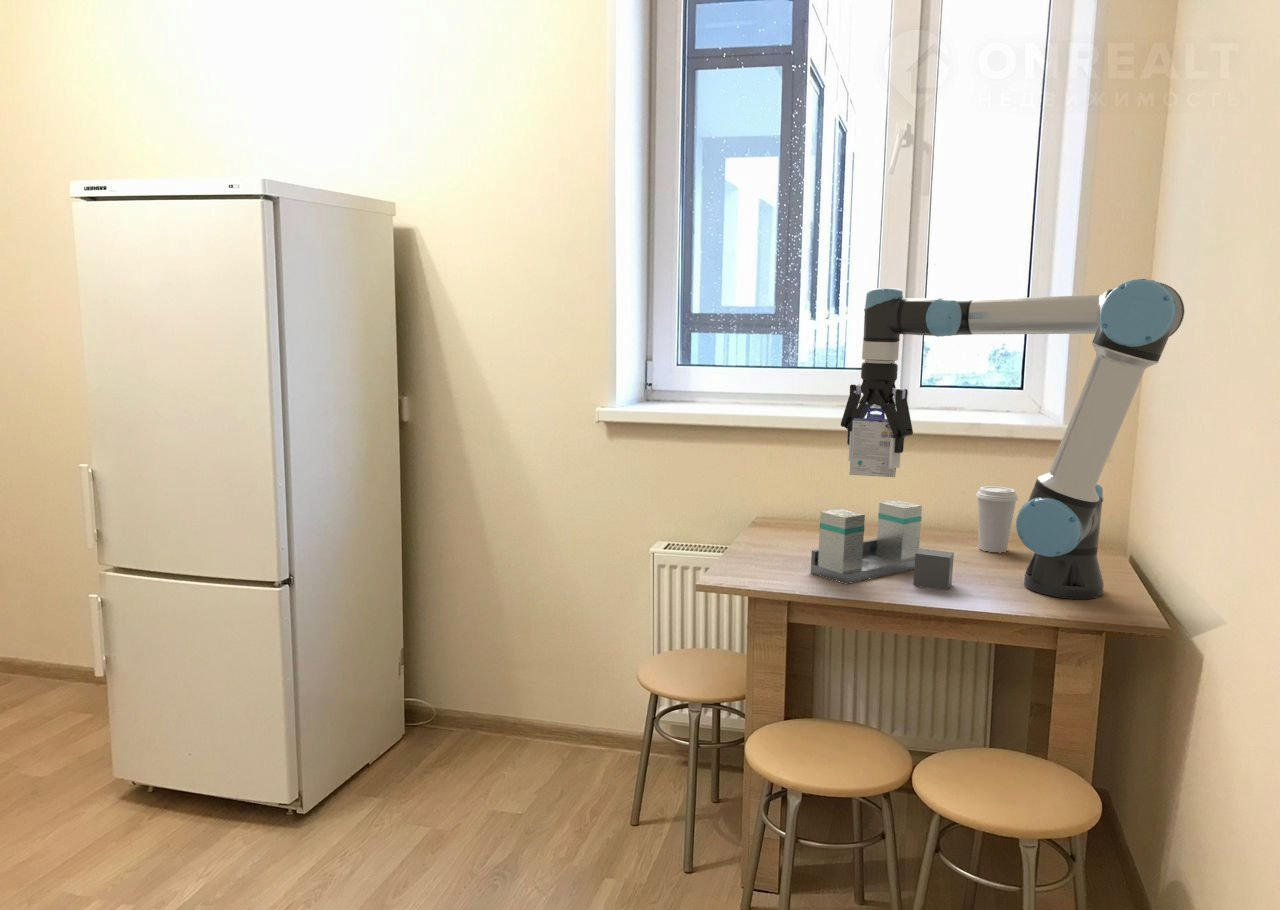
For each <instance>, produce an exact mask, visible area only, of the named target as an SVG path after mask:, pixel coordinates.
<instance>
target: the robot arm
mask: <svg viewBox="0 0 1280 910" xmlns="http://www.w3.org/2000/svg"><path fill="white" fill-rule="evenodd" d="M863 311H864V316H863V317H864V321H863V338H862V339H863V341H862V350H861V351H862V353H861V359H862V360H864V361H863V362H862V363H861V367H860V368H861V371H860V378H861V379H862V383H858V384H857V383H855V384H853V383H851V384H850V386H849V396H848V398H847V402H846V405H845V409H844V412H843V415H842V418H841V421H840V427H842V428H845V429H846V430H847V446H848V461H849V462H850V458H851V437H852V422H853V419H854V418H865V417H867V413H868V408H872V407H873V406H878V407H880V408H882V409H883V410H884V412H885V418H886V419H887V420H888V422H889V425H890V427H891V430H892V432H893V435H894V436H892V438H890V453H889V468H891V469H892V468H896V469H899V468H900V466H901V464H900V463H901V454H902V453H903V452H904V444H905V438H906V437H909V436H913V433H914V431H913V426H912V425H913V424H912V420H911V414H910V408H909V404H908V395H909V390H908V389H907V388H897V387H896V384H895V383H896V381H897V379H898V368H899V366H898V364H897V363H896V362H897V361H898V360H899V351H900V349H899V348H900V337H901V335H903V336H905V335H912V336H913V335H914V336H929V337H930V336H931V337H932V336H934V337H939V338H940V337H951V336H959V335H960V336H963V335H965V336H971V335H972V336H973V335H1055V334H1057V335H1071V334H1072V335H1077V334H1080V335H1081V334H1083V335H1085V334H1086V335H1087V334H1089V335H1090V334H1091V335H1092V334H1095V335H1094V336H1093V338H1092V342H1091V345H1092V348H1094V351H1095V354H1096V356H1094V357H1095V358H1094V360H1093V363H1092V365H1091V367H1090V370H1089V372H1088V375H1087V377H1086V379H1085V381H1084V384H1083V387H1082V389H1081V391H1080V395H1079V397H1078V399H1077V402H1076V404H1075V406H1074V410H1073V412H1072V414H1071V417H1070V420H1069V422H1068V424H1067V426H1066V429H1065V432H1064V433H1063V437H1062V438H1061V441H1060V444H1059V446H1058V448H1057V450H1056V453H1055V457H1054V459H1053V461H1052V464H1051V466H1050V469H1049V471H1048V472H1045V473H1043V474H1040V475H1038V476H1037V479H1036V481H1035V483H1034V486H1033V488H1032V491H1031V493H1030V495H1029V498H1028V500H1027V502H1026V503H1024V504H1023V505H1022V506H1021V508H1020V509H1019V510H1018V514H1017V515H1016V520H1015V528H1016V529H1015V530H1016V532H1017V536H1018V537H1019V540H1021V543H1023V545H1024V546H1025V547H1026V548H1027V549H1028V550H1029V551H1032V552H1033V556H1031V557H1032V558H1031V560H1030V562H1029V564H1028V566H1027V569H1026V571H1025V573H1024V581H1023V585H1024V586H1025V587H1026V588H1027V589H1029V590H1030V591H1033V592H1034V593H1035V592H1036V593H1039V594H1041V595H1045V596H1050V597H1055V598H1056V597H1057V598H1062V599H1068V600H1069V599H1070V600H1071V599H1072V600H1089V599H1090V600H1092V599H1098V598H1100V597H1102V596H1103V594H1104V585H1105V583H1104V580H1103V575H1102V571H1101V568H1100V563H1099V560H1098V548H1099V541H1100V540H1099V538H1100V528H1101V519H1102V518H1101V517H1102V509H1103V502H1104V501H1105V500H1104V495H1103V494H1104V492H1103V487H1102V486H1101V485H1100V484H1098V482H1099V479H1100V477H1101V474H1102V472H1103V469H1104V467H1105V465H1106V463H1107V460H1108V458H1109V455H1110V454H1111V451H1112V447H1113V446H1114V444H1115V441H1116V439H1117V436H1118V434H1119V432H1120V430H1121V427H1122V425H1123V423H1124V420H1125V418H1126V416H1127V413H1128V411H1129V409H1130V406H1131V403H1132V401H1133V399H1134V397H1135V395H1136V392H1137V390H1138V387H1139V385H1140V382H1141V380H1142V378H1143V376H1144V373H1145V370H1147V369H1148V368H1150V367H1152V366H1155V365H1156V364H1158V363H1159V361H1160V359H1161V356H1162V354H1163V352H1164V349H1165V348H1166V345H1167V344H1168V340H1169V338H1170V337H1172V336H1173V335H1174V334H1175V333H1177V331H1178V329H1179V328H1180V327H1181V325H1182V323H1183V321H1184V318H1185V317H1184V316H1185V304H1184V302H1183V299H1182V296H1181V295H1180V294H1179V292H1178V291H1177V290H1175V289H1174V288H1173V287H1172V286H1170V285H1168V284H1165V283H1162V282H1158V281H1156V280H1155V279H1147V278H1138V279H1131V280H1128V281H1126V282H1124V283H1122V284H1120V285H1118V286H1115V288H1113V289H1107V290H1106V291H1104V293H1103V294H1096V295H1095V294H1091V295H1090V294H1089V295H1064V296H1061V295H1060V296H1058V295H1057V296H1036V297H1035V296H1033V297H1032V296H1031V297H1001V298H1000V297H999V298H975V299H970V298H969V299H967V298H966V299H951V298H950V299H949V298H941V297H940V298H907V297H904V295H903V291H902V289H900V288H871V289H869V290H868V291H867V293H866V298H865V306H864V309H863Z"/></svg>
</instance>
